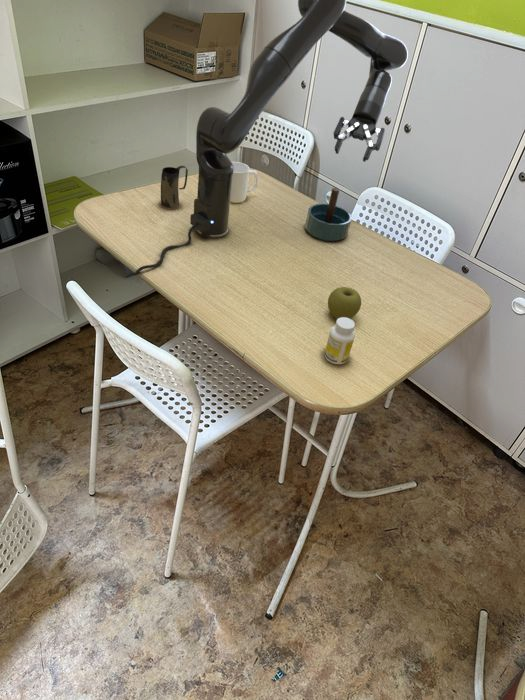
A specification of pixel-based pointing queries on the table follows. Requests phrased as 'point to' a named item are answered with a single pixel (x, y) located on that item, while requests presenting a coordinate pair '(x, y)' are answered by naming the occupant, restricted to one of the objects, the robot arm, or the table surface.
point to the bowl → (327, 230)
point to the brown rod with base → (332, 205)
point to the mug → (171, 187)
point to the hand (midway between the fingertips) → (350, 156)
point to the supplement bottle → (340, 341)
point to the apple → (344, 302)
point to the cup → (241, 182)
